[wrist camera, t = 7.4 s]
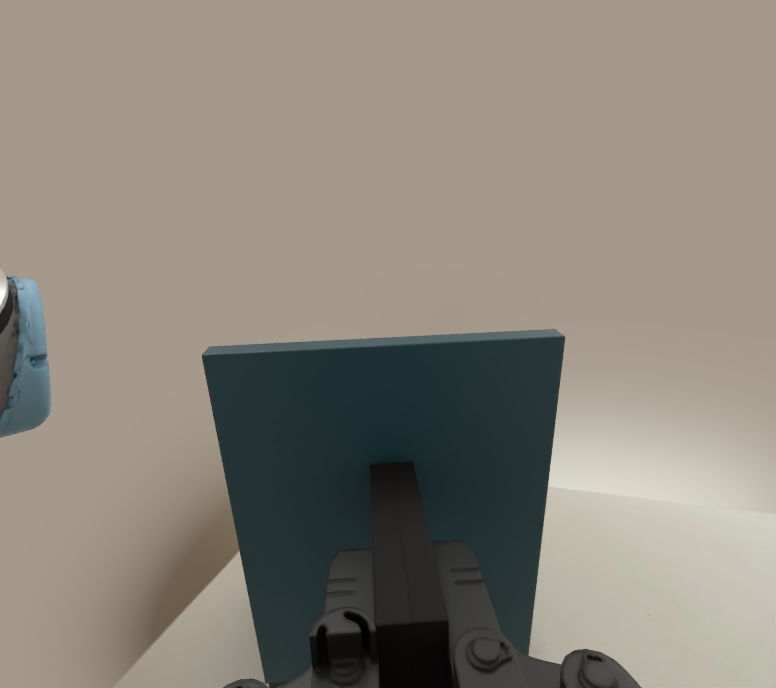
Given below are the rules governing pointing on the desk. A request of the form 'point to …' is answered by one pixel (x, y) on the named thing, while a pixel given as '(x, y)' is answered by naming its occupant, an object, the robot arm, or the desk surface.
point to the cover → (383, 445)
